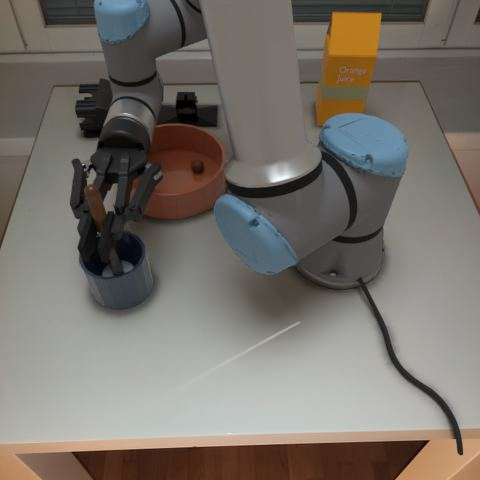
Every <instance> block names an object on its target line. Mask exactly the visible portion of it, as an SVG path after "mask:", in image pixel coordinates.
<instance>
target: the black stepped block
mask: <svg viewBox="0 0 480 480" xmlns="http://www.w3.org/2000/svg"><path fill="white" fill-rule="evenodd" d="M198 103H199V100H198V96H196V91H177V92H176V98H175V104H162V106H161V108H160V112H159V116H158V119H157V123H156V125H162V124H187V125H193V126H196V127H199V128H217V126H218V108H219V106H218V105H217V104H198Z"/></svg>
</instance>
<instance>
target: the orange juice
mask: <svg viewBox="0 0 480 480" xmlns="http://www.w3.org/2000/svg"><path fill="white" fill-rule="evenodd" d="M382 14H383V12H382V11H381V12H380V11H379V12H378V11H335V10H334V11H332V14H331V17H330V20H329V23H328V25H327V26H328V27H327V30H326V33H325V38H324V44H323V51H322V59H321V65H320V68H319V69H320V70H319V77H318V84H317V92H316V97H315V104H314V105H315V114H316V115H315V116H316V123H317V124H316V126H317V127H323V125H324V123H325V122H326V121H327V120H328V119H329V118H331V117H333V116H336V115H339V114H344V113H360V114H364V111H365V108H366V107H365V106H366V102H367V99H368V95H369V92H370V87H371V82H372V79H373V73H374V70H375V67H376V62H377V58H378V49H379V40H380V32H381V22H382Z"/></svg>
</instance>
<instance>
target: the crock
mask: <svg viewBox="0 0 480 480" xmlns="http://www.w3.org/2000/svg"><path fill="white" fill-rule="evenodd" d="M99 240H100V236H99V233H97V236H96V239H95V243H94V246H93V249H92V253H91V256H90V260H89V262H85V261H83V260H82V258H81V255H80V253H79V252H78V253H79V254H78V264H79V266H80V268H81V270H82V273H83V275H84V278H85V281H86V282H87V285H88V287H89V290H90V292H91V294H92V296H93V298H94V299H95V302H97V303H98V304H99V305H100V306H102V307H104V308H106V309H109V310H117V311H120V310H121V311H122V310H127V309H132V308H134V307H136V306H138V305H140V304H142V303H143V302H144V301H145V300H146V299H147V298H148V297H149V296H150V295H151V292H152V289H153V287H154V281H153V273H152V270H151V265H150V260H149V257H148V253H147V248H146V244H145V243H144V241H143V240H142V239H141V237H140V236H138V235H137V234H135V233H133V232H132V231H130V230H125V229H124V230H123V234H122V238H121V239H120V240H115V242H116V246H117V249H118V252H119V255H120V258H121V260H123V261H127V262H130V263H131V264H132V265H133V266H134V268H132V269H131V270H130V271H128V272H126V273H124V274H122V275H119V276H113V277H103V276H102V272H103V270H104V268H105V267H106V266H107V265H108V264H109V262H108V263H106V262H102V260H101V257H100V255H99V252H98V249H97V247H98V244H99Z"/></svg>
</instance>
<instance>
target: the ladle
mask: <svg viewBox="0 0 480 480" xmlns="http://www.w3.org/2000/svg"><path fill="white" fill-rule="evenodd" d="M84 193H85V196H86V199H87V202H88V205H89V207H90V210H91V213H92V216H93V219H94V222H95V225H96V228H97V231H98V233H97V234H99V236H100V237H101V233H102V230H103V226H104V223H105V219H106V216H107V211H106V207H105V205H104V202H103V201H102V197H101V194H100V191H99V189H98V187H97V186H96V185H94V184H93V183H89V184H87V186H86V187H85V189H84ZM108 262H109V264H108V265H107V266H106V267H105V268H104V270H103V272H102V276H103V277H113V276H119V275H122V274H124V273H126V272H128V271H130V270H131V269H132V268H134V266H133V265H132V264H131V263H130V262H127V261H123V260H121V258H120V255H119V252H118V249H117V246H116V242H115V240H114V242H113V246H112V250H111V253H110V257H109V261H108Z"/></svg>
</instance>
